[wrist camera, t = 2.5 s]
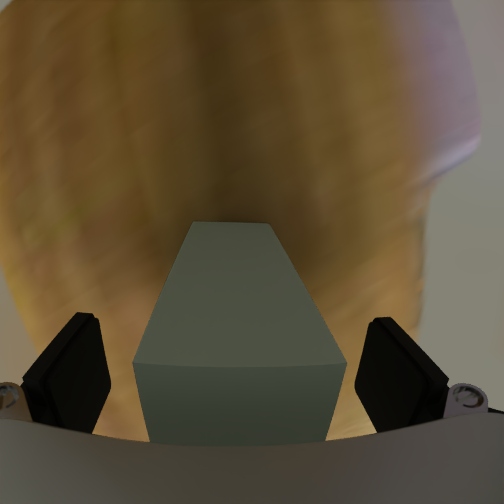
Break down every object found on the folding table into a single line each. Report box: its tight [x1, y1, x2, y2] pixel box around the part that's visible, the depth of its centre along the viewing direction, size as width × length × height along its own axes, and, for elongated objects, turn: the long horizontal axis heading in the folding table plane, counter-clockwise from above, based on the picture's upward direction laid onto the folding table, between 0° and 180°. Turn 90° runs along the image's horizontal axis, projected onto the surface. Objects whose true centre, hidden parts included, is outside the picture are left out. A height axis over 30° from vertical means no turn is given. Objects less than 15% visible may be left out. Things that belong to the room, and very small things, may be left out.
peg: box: [133, 221, 347, 446], centre depth 12 cm, size 4×4×12 cm
